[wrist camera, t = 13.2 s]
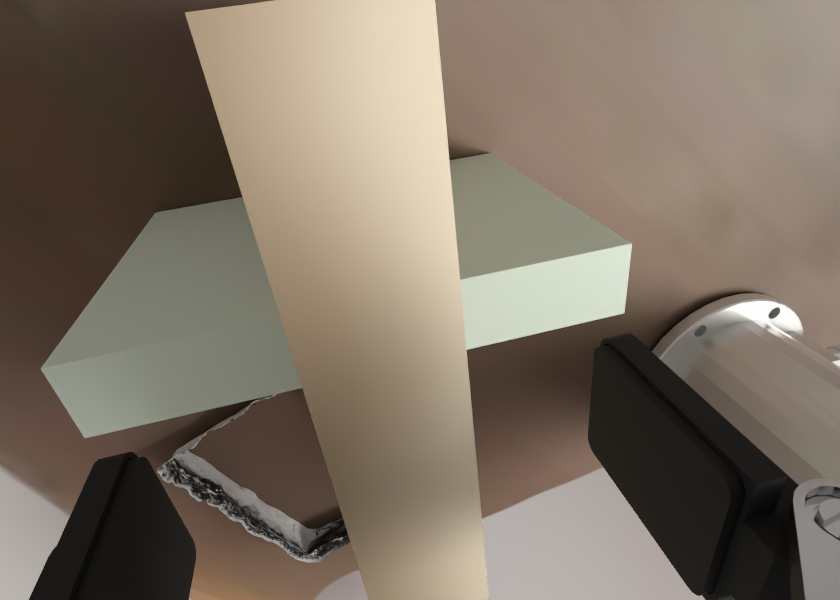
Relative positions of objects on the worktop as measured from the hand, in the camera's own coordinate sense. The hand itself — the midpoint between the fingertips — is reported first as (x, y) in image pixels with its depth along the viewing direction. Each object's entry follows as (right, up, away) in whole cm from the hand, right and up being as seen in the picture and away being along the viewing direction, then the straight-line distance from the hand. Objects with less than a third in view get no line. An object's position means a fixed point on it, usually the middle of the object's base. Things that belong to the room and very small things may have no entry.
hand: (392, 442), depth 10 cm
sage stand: (-4, +8, +14) cm, 16 cm away
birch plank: (-3, +8, +14) cm, 16 cm away
